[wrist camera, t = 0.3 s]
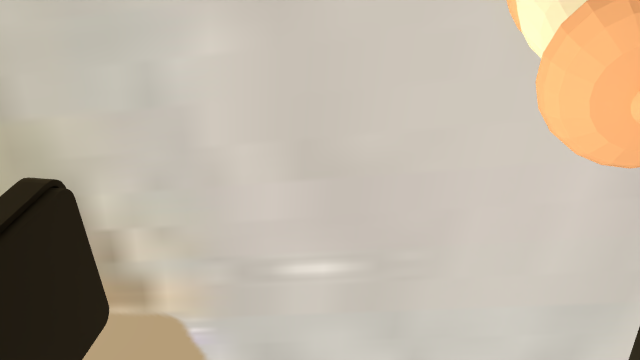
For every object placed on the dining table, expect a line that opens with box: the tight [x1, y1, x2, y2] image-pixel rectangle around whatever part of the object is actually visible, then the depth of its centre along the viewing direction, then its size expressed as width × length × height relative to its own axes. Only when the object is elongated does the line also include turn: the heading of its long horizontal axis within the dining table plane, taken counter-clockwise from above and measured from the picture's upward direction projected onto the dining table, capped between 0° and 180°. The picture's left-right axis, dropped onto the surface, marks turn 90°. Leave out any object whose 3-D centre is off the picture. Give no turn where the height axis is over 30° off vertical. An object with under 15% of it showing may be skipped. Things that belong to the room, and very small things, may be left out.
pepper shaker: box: [507, 0, 640, 168], centre depth 27 cm, size 7×7×19 cm
